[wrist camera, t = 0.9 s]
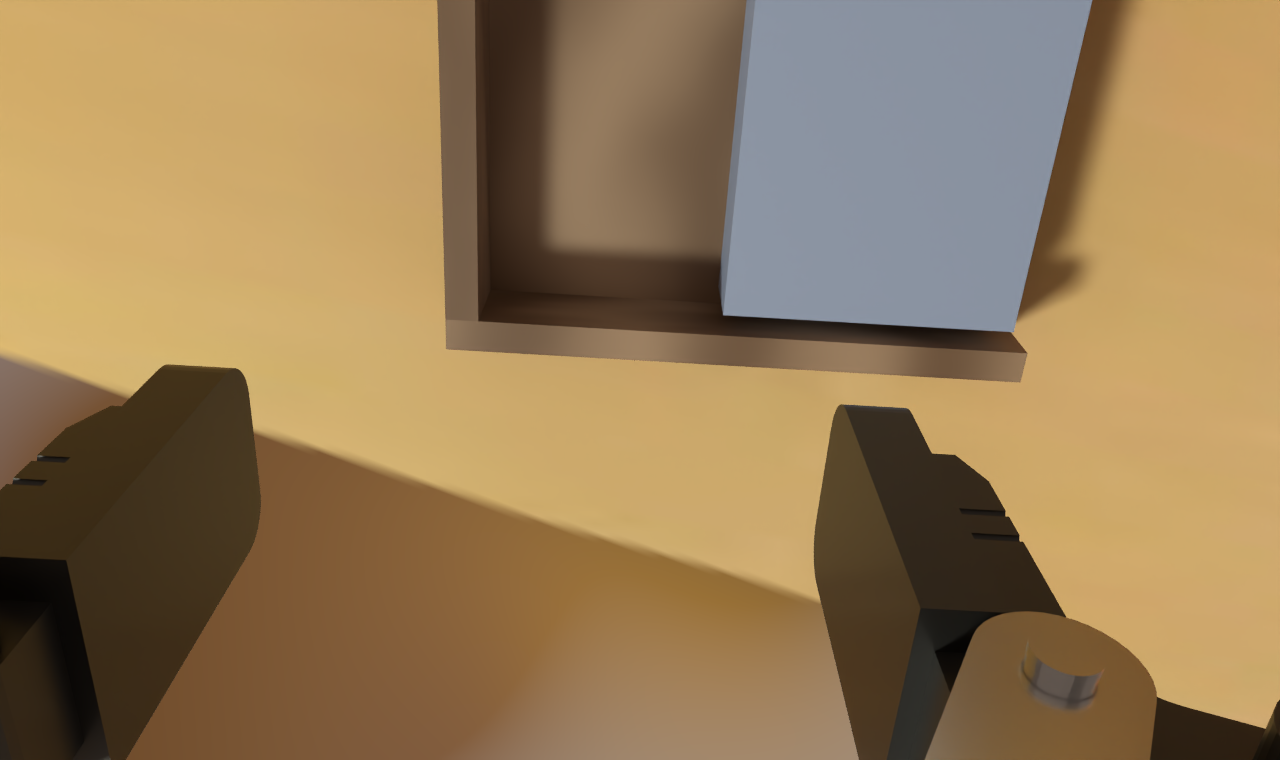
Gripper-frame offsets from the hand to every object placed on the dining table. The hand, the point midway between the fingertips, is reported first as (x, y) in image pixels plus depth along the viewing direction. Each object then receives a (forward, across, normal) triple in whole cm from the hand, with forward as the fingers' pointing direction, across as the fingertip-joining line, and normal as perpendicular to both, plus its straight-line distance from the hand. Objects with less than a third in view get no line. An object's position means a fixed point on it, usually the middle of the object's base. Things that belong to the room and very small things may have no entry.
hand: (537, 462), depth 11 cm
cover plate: (+22, -8, 0) cm, 24 cm away
